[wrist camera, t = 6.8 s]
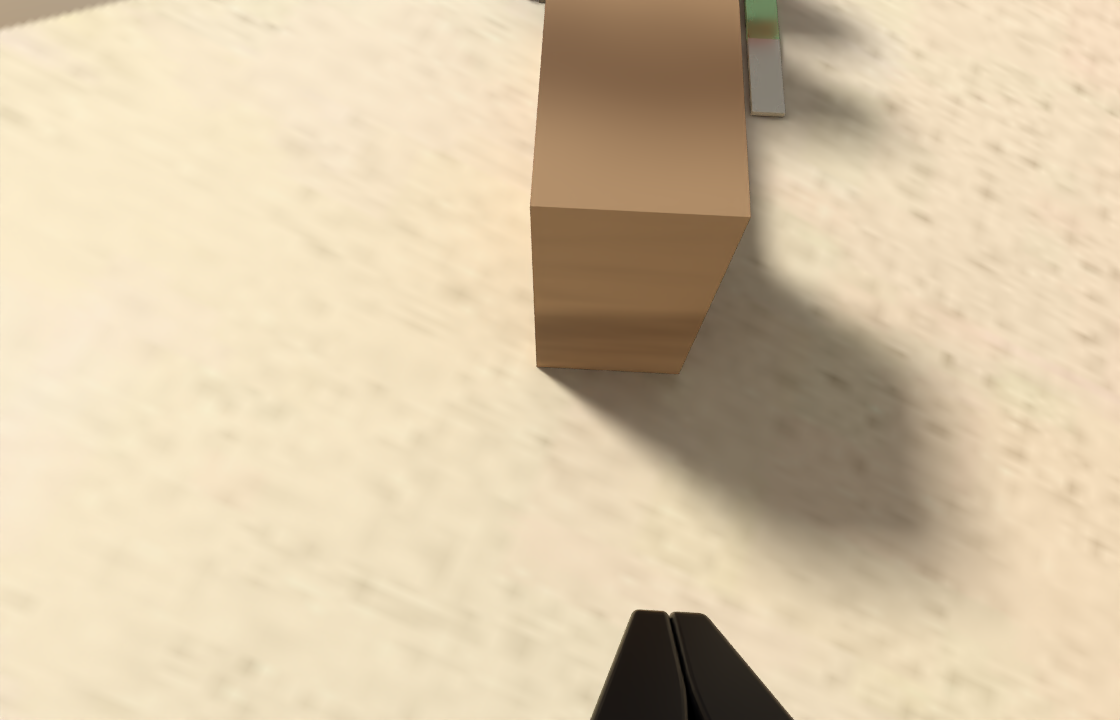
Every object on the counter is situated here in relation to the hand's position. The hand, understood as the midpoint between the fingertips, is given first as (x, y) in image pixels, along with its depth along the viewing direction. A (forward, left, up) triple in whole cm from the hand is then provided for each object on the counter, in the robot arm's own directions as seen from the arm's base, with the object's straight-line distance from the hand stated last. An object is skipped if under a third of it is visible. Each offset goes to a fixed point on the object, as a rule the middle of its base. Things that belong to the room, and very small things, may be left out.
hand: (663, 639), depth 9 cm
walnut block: (+11, -11, -13) cm, 20 cm away
